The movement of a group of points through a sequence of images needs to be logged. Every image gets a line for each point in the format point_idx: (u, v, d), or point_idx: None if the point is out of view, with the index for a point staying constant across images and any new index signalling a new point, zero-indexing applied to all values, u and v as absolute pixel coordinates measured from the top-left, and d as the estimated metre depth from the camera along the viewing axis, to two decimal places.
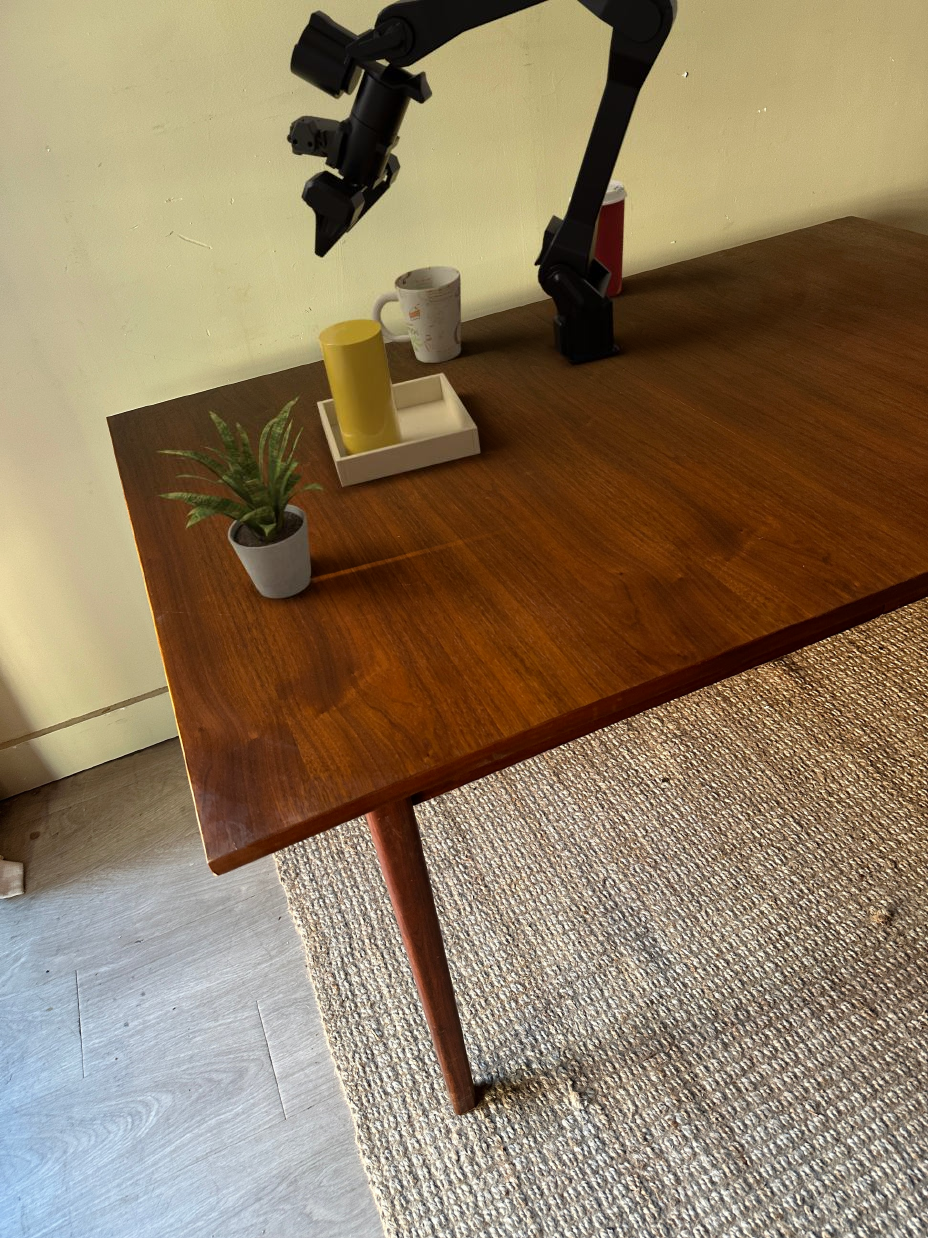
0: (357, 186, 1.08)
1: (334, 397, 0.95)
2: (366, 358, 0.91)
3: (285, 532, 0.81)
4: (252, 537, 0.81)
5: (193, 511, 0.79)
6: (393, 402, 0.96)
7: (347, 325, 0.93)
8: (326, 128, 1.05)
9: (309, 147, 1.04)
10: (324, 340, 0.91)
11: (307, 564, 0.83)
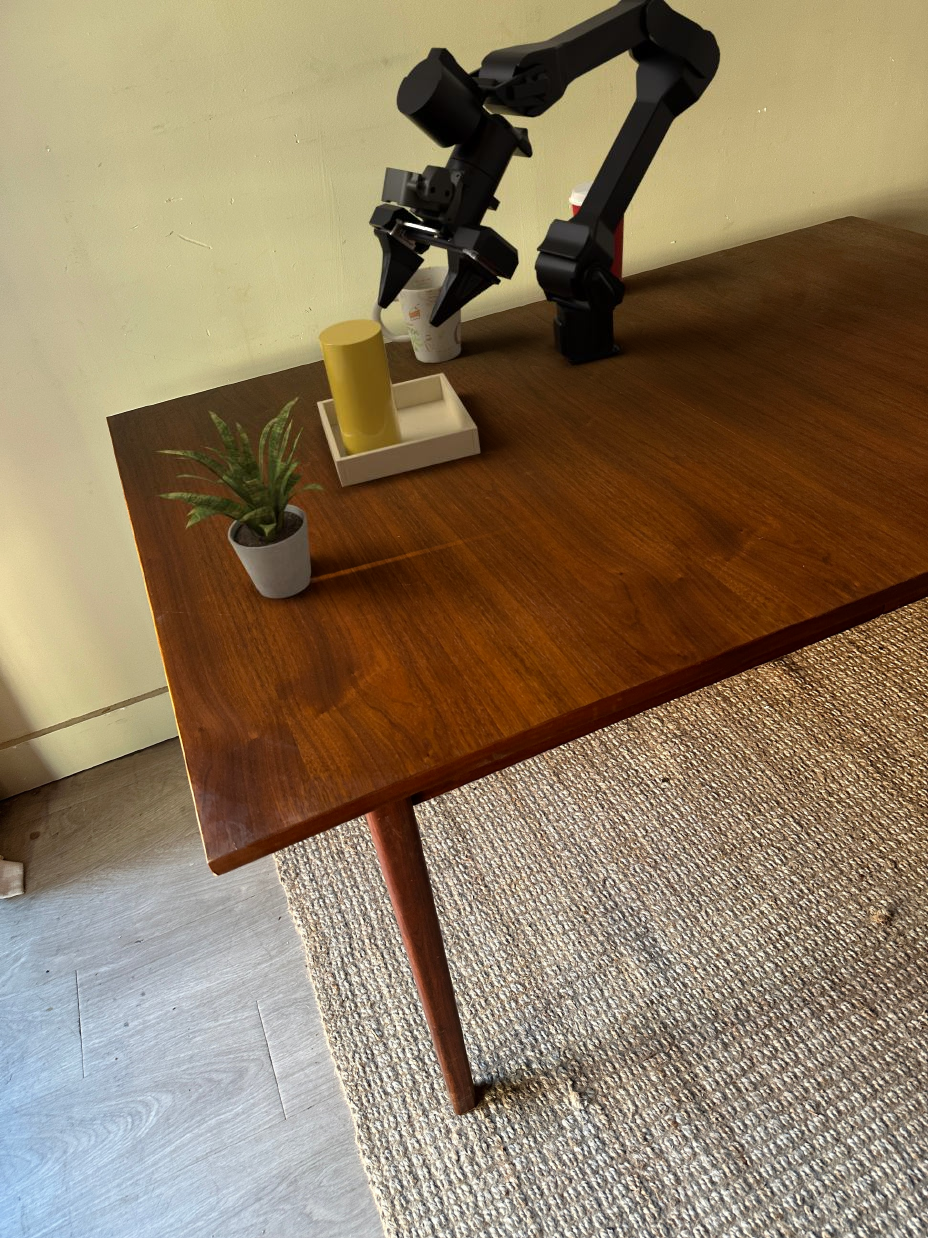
0: None
1: (334, 397, 0.95)
2: (366, 358, 0.91)
3: (285, 532, 0.81)
4: (252, 537, 0.81)
5: (193, 511, 0.79)
6: (393, 402, 0.96)
7: (347, 325, 0.93)
8: None
9: (445, 197, 0.88)
10: (324, 340, 0.91)
11: (307, 564, 0.83)
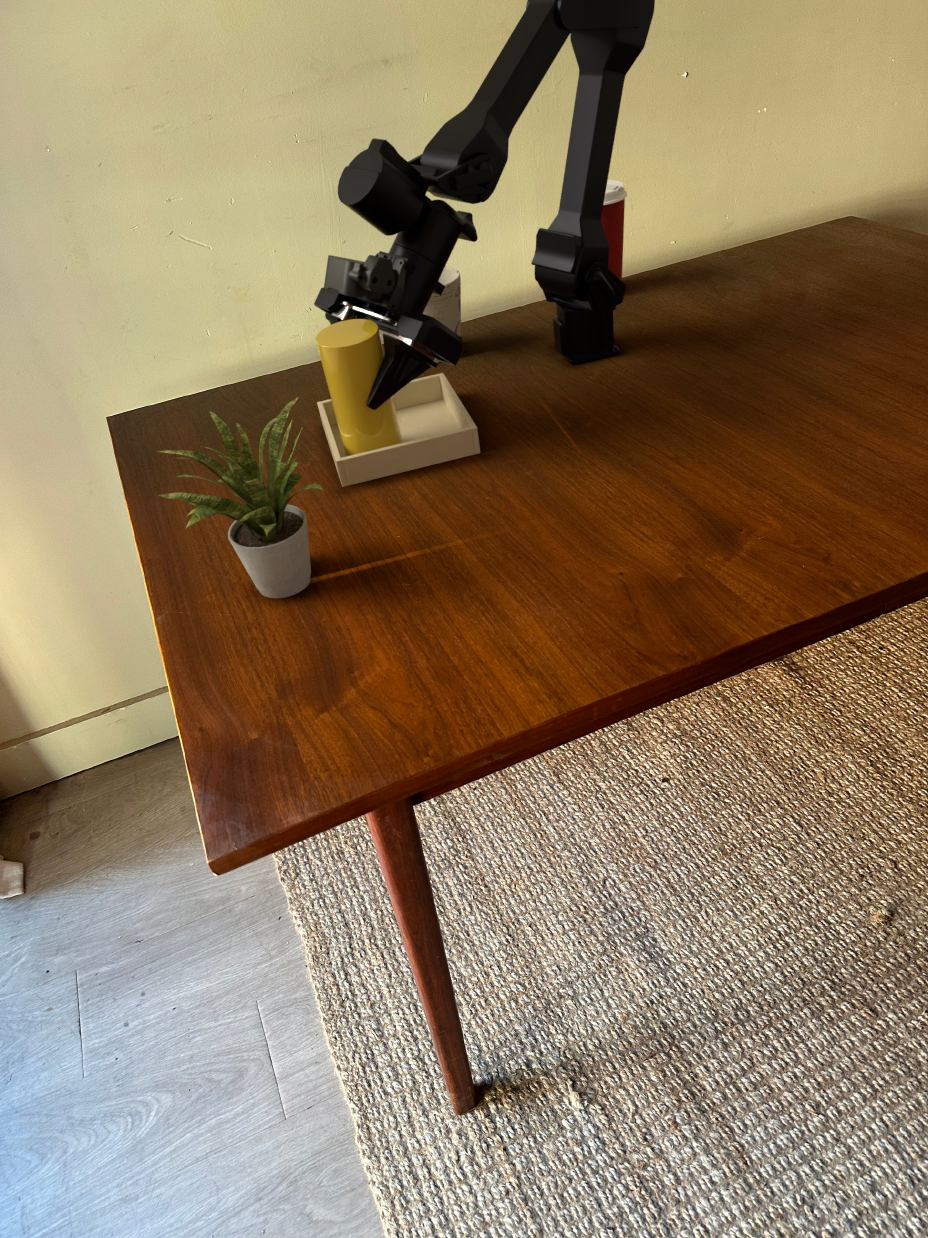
0: None
1: (332, 398, 0.95)
2: (363, 359, 0.91)
3: (285, 532, 0.81)
4: (252, 537, 0.81)
5: (193, 511, 0.79)
6: (392, 402, 0.96)
7: (344, 325, 0.93)
8: None
9: (388, 286, 0.88)
10: (322, 342, 0.91)
11: (307, 564, 0.83)
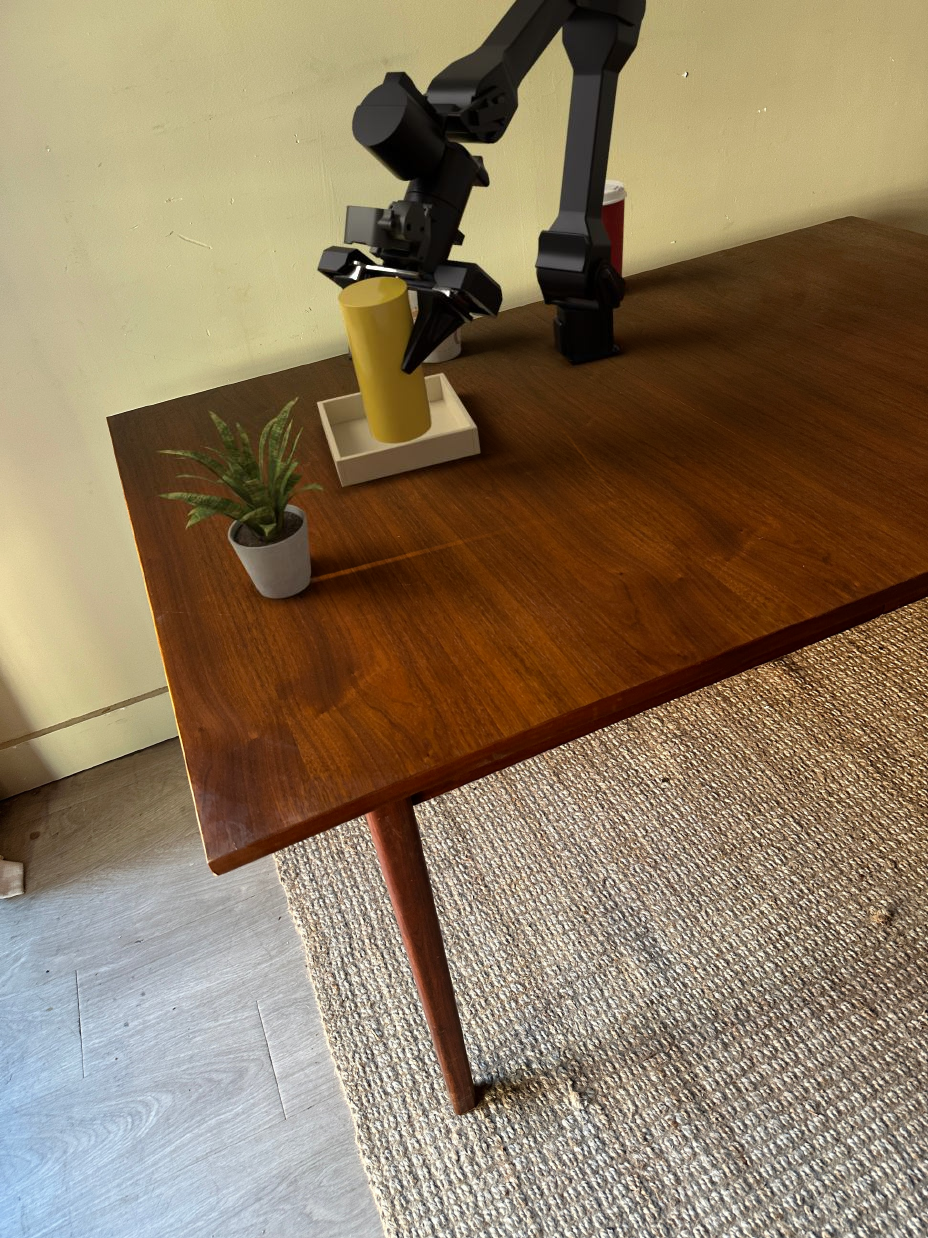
0: None
1: (360, 367, 0.86)
2: (397, 318, 0.82)
3: (285, 532, 0.81)
4: (252, 537, 0.81)
5: (193, 511, 0.79)
6: (421, 365, 0.88)
7: (365, 285, 0.84)
8: None
9: (420, 234, 0.80)
10: (349, 303, 0.82)
11: (307, 564, 0.83)
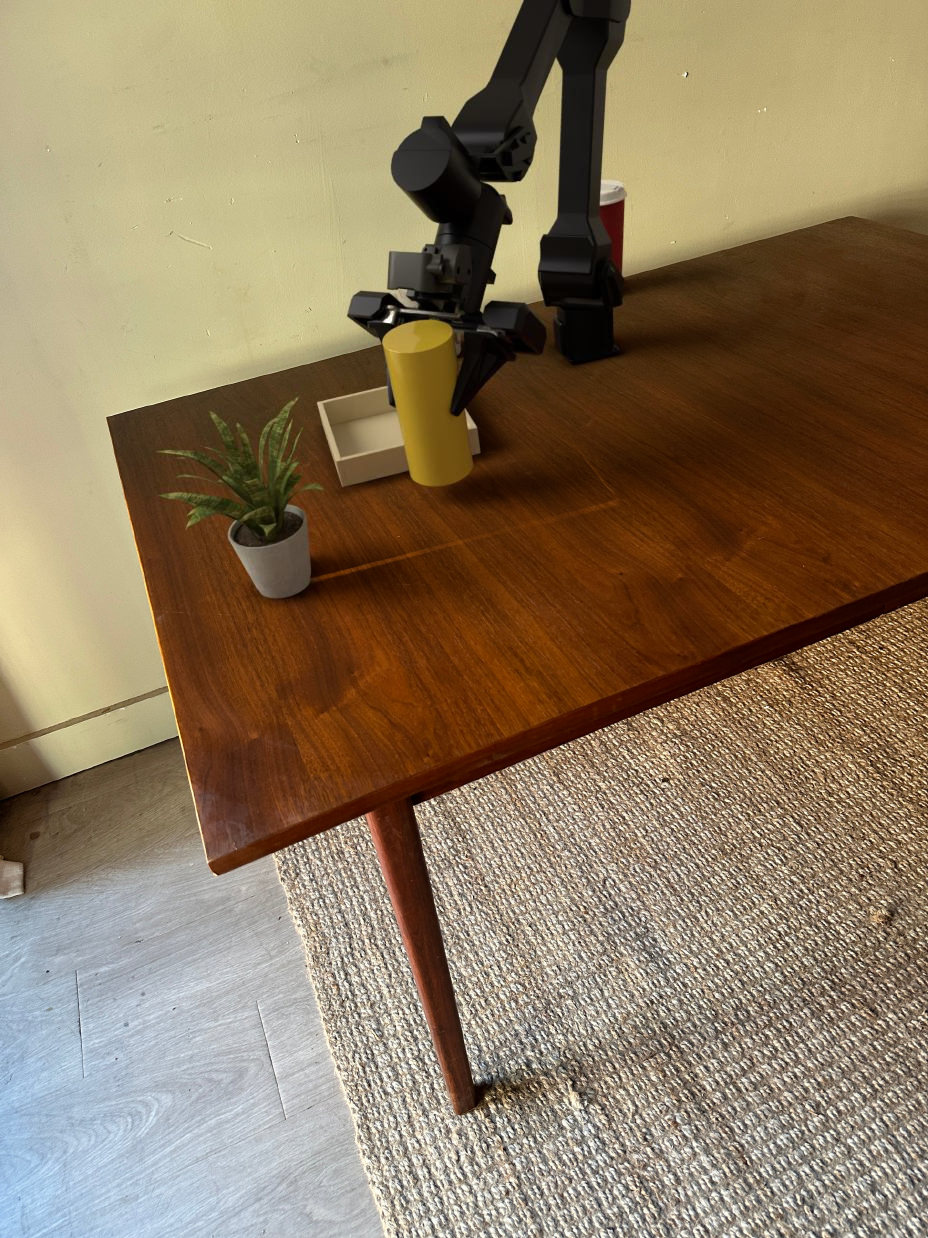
0: None
1: (406, 412, 0.84)
2: (447, 361, 0.81)
3: (285, 532, 0.81)
4: (252, 537, 0.81)
5: (193, 511, 0.79)
6: None
7: (407, 329, 0.83)
8: None
9: (467, 276, 0.79)
10: (397, 349, 0.80)
11: (307, 564, 0.83)
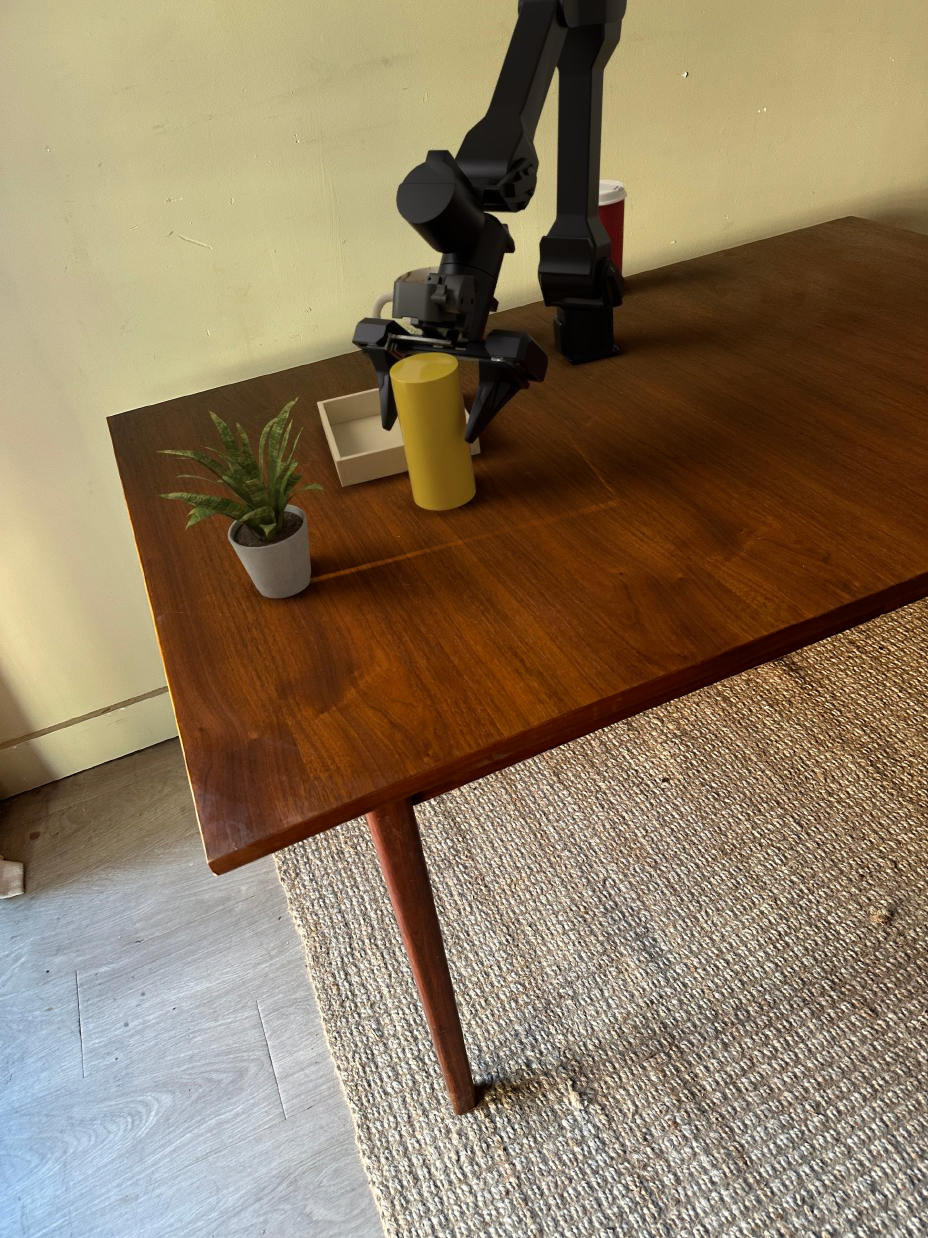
0: None
1: (412, 441, 0.86)
2: (452, 391, 0.84)
3: (285, 532, 0.81)
4: (252, 537, 0.81)
5: (193, 511, 0.79)
6: None
7: (414, 361, 0.86)
8: None
9: (471, 306, 0.81)
10: (404, 379, 0.83)
11: (307, 564, 0.83)
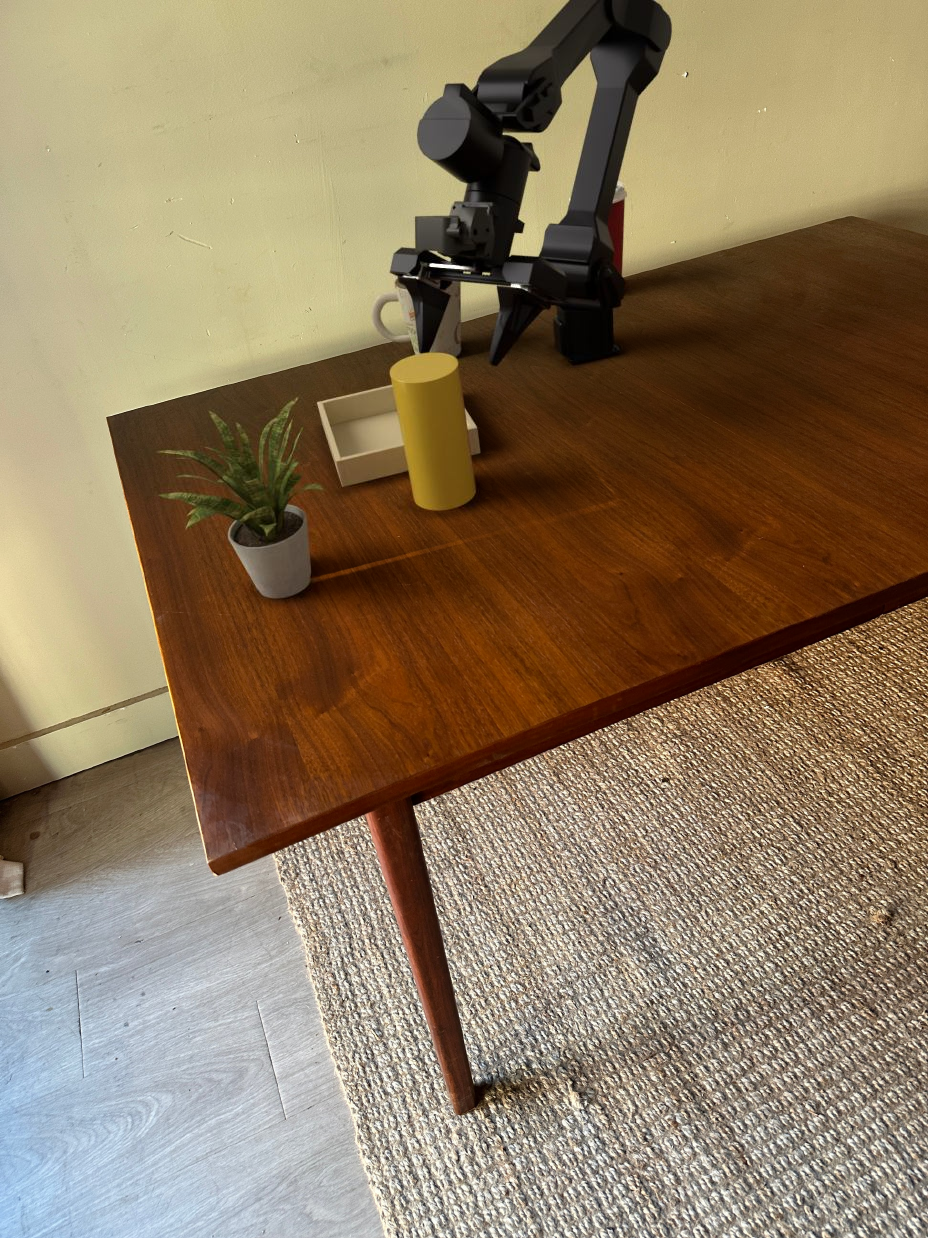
0: None
1: (412, 441, 0.86)
2: (452, 391, 0.84)
3: (285, 532, 0.81)
4: (252, 537, 0.81)
5: (193, 511, 0.79)
6: (468, 436, 0.89)
7: (414, 361, 0.86)
8: None
9: (486, 235, 0.86)
10: (404, 379, 0.83)
11: (307, 564, 0.83)
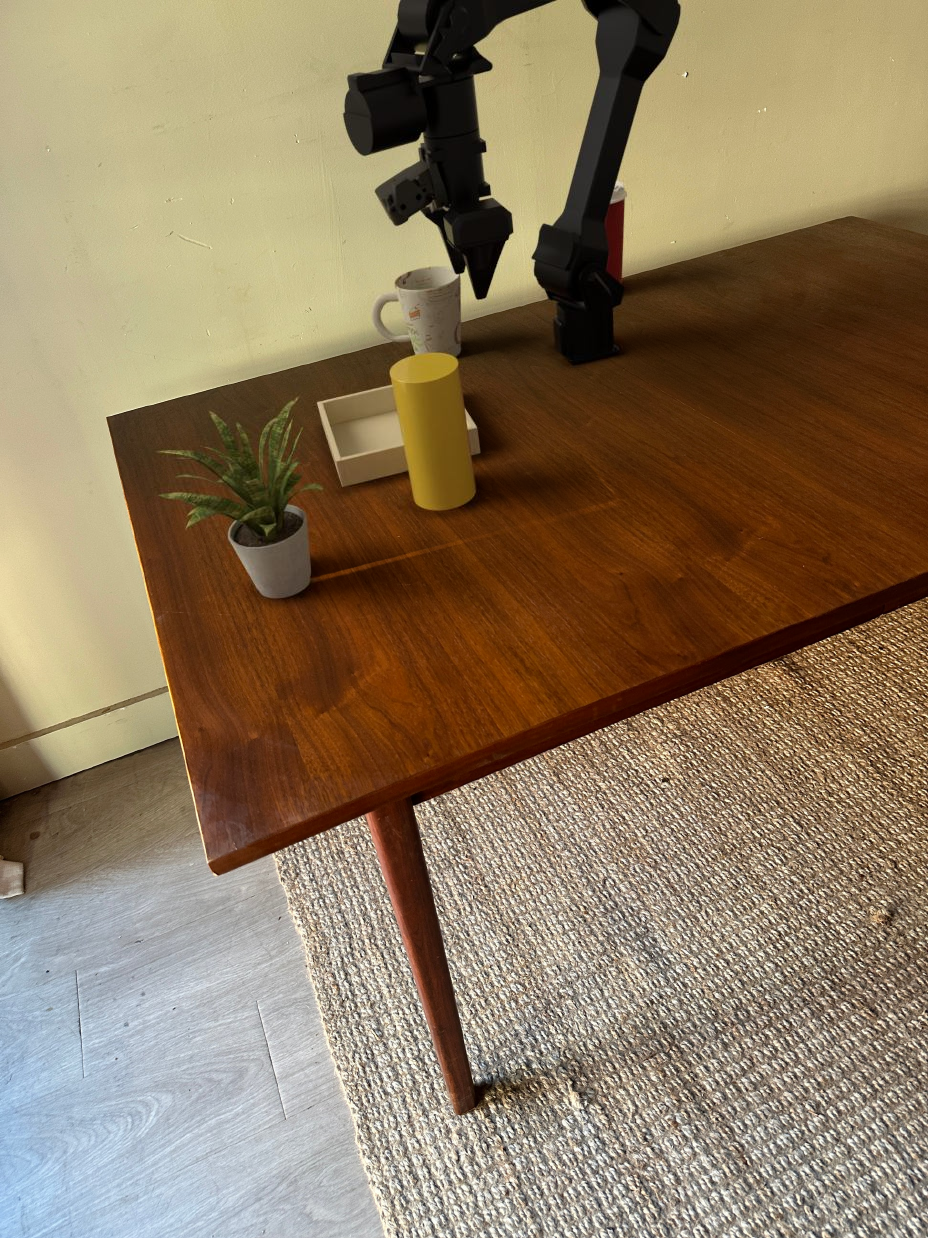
0: None
1: (412, 441, 0.86)
2: (452, 391, 0.84)
3: (285, 532, 0.81)
4: (252, 537, 0.81)
5: (193, 511, 0.79)
6: (468, 436, 0.89)
7: (414, 361, 0.86)
8: (415, 175, 0.93)
9: (419, 201, 0.91)
10: (404, 379, 0.83)
11: (307, 564, 0.83)
